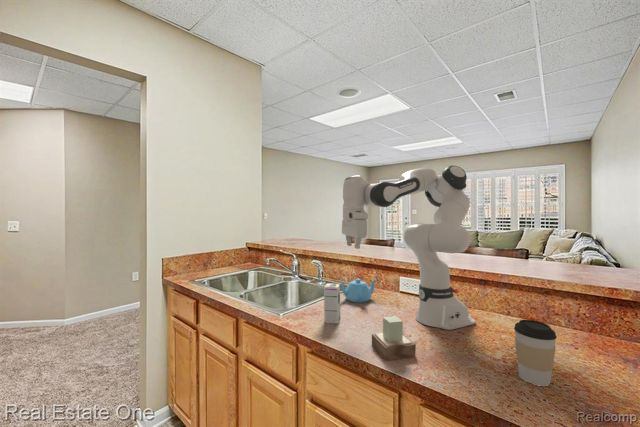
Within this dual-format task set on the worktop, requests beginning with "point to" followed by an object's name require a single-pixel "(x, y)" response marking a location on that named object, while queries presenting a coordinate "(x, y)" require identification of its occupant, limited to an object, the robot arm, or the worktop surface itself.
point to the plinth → (393, 347)
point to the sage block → (392, 328)
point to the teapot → (358, 291)
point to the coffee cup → (535, 351)
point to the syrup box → (332, 303)
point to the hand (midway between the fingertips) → (353, 247)
